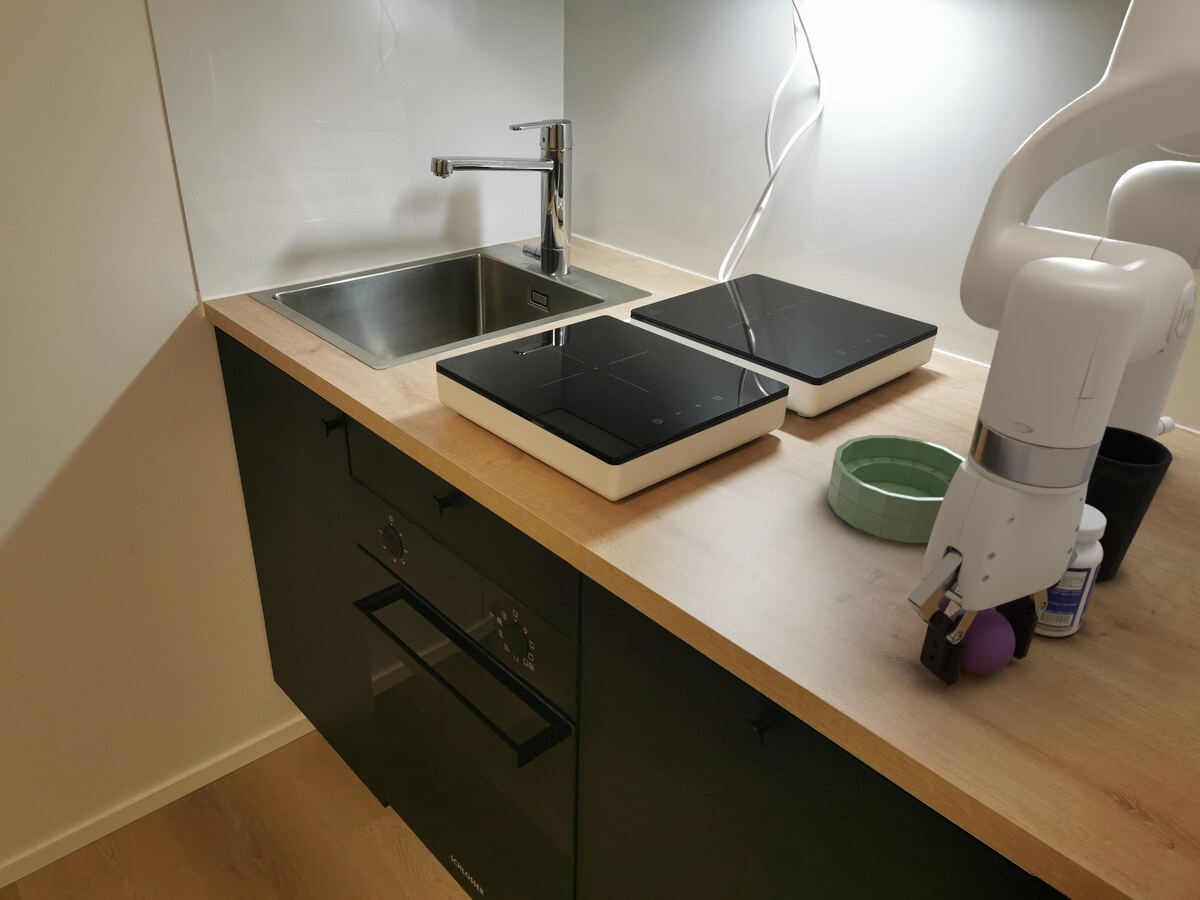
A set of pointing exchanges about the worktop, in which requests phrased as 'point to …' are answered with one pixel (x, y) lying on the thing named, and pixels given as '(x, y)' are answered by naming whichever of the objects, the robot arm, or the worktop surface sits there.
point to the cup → (1124, 490)
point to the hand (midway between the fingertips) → (972, 658)
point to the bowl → (891, 485)
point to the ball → (987, 642)
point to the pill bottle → (1075, 580)
